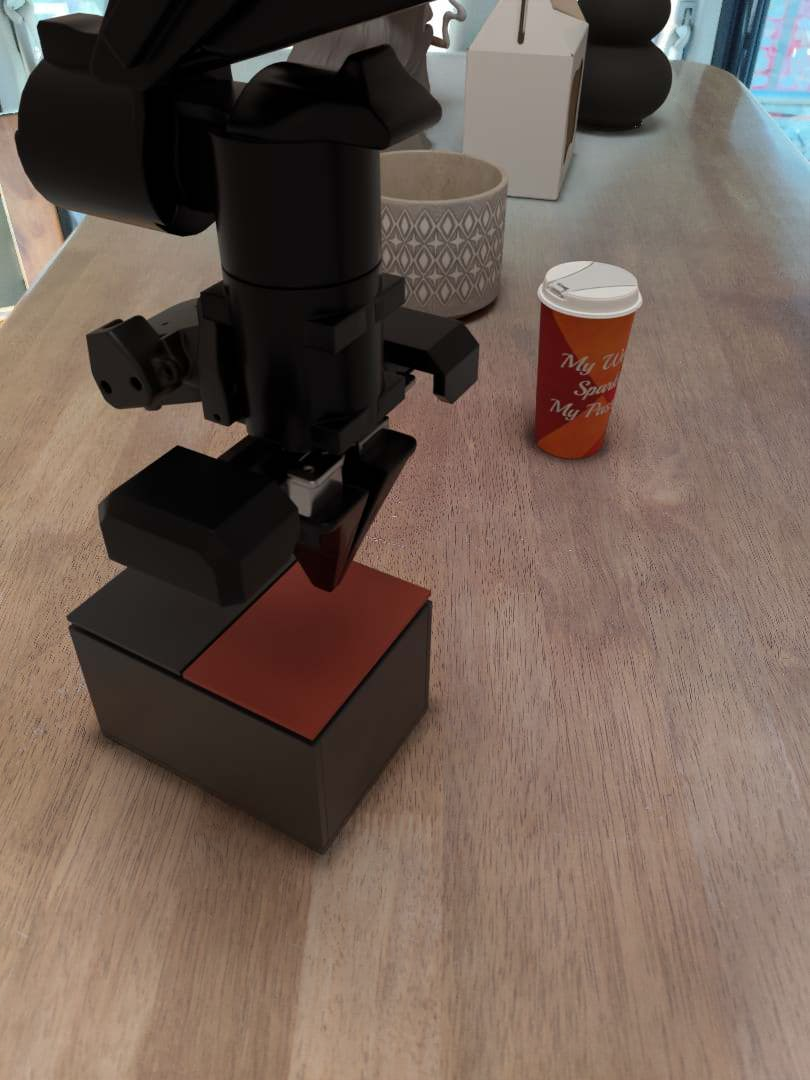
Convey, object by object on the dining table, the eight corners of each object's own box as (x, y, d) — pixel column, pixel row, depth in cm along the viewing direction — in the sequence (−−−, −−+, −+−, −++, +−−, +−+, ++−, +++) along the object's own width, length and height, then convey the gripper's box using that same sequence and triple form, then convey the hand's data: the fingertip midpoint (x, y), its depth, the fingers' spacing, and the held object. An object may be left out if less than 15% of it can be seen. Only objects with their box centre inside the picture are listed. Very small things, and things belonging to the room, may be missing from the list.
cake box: (487, 146, 139) (501, -72, 121) (573, 153, 137) (600, -68, 119) (459, 192, 122) (470, -53, 105) (556, 201, 120) (585, -48, 102)
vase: (682, 138, 143) (735, -136, 121) (573, 144, 140) (607, -137, 118) (635, 108, 157) (675, -143, 135) (535, 113, 154) (559, -143, 132)
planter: (382, 257, 105) (382, 141, 97) (518, 280, 100) (529, 161, 92) (318, 313, 93) (311, 187, 85) (468, 343, 88) (476, 212, 80)
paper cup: (558, 476, 71) (582, 309, 62) (503, 429, 76) (518, 269, 67) (635, 450, 74) (669, 287, 65) (578, 407, 79) (602, 251, 70)
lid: (431, 595, 47) (431, 590, 47) (312, 741, 39) (312, 736, 39) (314, 550, 50) (313, 545, 49) (183, 678, 42) (182, 673, 42)
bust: (507, 136, 143) (528, -138, 121) (318, 170, 129) (303, -134, 107) (396, 91, 166) (397, -148, 143) (224, 115, 151) (196, -146, 129)
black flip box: (428, 707, 52) (433, 590, 47) (323, 855, 45) (313, 737, 39) (225, 616, 58) (206, 502, 52) (101, 734, 51) (63, 616, 45)
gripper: (274, 156, 41) (299, 443, 51) (-73, 307, 29) (49, 649, 39) (493, 196, 37) (475, 501, 47) (198, 393, 25) (257, 753, 34)
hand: (326, 585), depth 42 cm, fingers closed
